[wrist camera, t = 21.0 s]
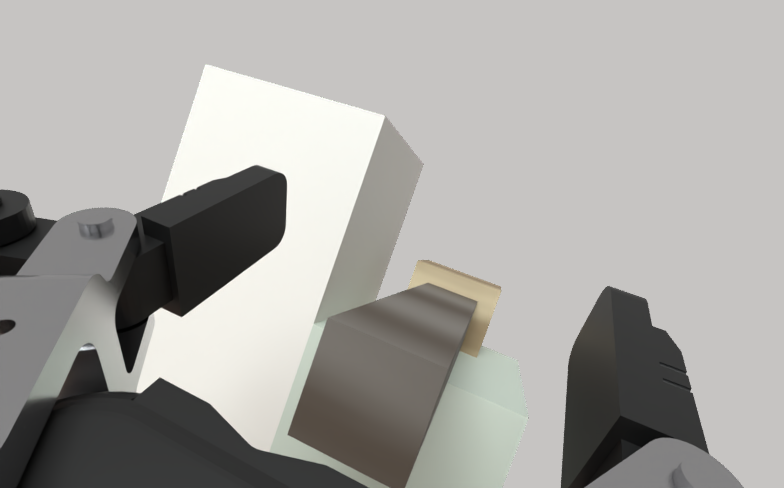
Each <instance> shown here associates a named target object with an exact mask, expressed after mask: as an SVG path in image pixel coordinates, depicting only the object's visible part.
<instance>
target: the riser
mask: <svg viewBox="0 0 784 488" xmlns="http://www.w3.org/2000/svg"><path fill="white" fill-rule="evenodd" d="M254 165H259V166H262V167H265V168H268V169H271V170H274V171H277V172H280V173H282V174H284V175H285V177H286V180H287V205H286V229H285V233H284V236H283V238H282V240H281V242H280V243H279V245H278V246H277V247H276V248H275V249H273V250H272V251H271V252H269V253H268V254H267V255H265V256H264V257H263V258H261V259H260V260H259V261H257V262H256V263H255V264H253V265H252V266H251V267H249V268H248V269H246V270H245V271H244V272H242V273H241V274H240V275H238V276H237V277H236V278H234V279H233V280H232V281H230V282H229V283H228V284H226V285H225V286H224V287H222V288H221V289H219V290H218V291H217V292H215V293H214V294H213V295H211V296H210V297H209V298H207V299H206V300H205V301H203V302H202V303H201V304H199V305H198V306H197V307H195V308H194V309H192V310H191V311H190V312H188V313H187V314H186V315H184V316H183V317H180V316H178V315H175V314H173V313H171V312H169V311H167V310H165V309H163V308H160V309H159V310H157V311H156V312H154V318H155V325H154V329H153V332H152V336H151V339H150V343H149V346H148V350H147V354H146V357H145V361H144V364H143V368H142V371H141V375H140V378H139V382H138V385H137V390H136V393H142V392H143V391H144V390H145V389H146V388H148V387H149V386H150V385H151V384H152V383H154V382H155V381H156V380H157V379H158V378H159V377H160V378H162V379H164V380H166V381H168V382H170V383H172V384H174V385H175V386H177V387H179V388H181V389H183V390H185V391H187V392H189V393H191V394H193V395H194V396H196V397H198V398H200V399H202V400H204V401H206V402H208V403H210V404H211V405H212V406H213V407H214V408H215V409H216V411H217V412H218V413H219V414H220V415H221V416H222V417H223V418H224V419H225V420H226V421H227V422H228V423H229V424H230V425H231V426H232V427H233V428H234V429H235V430H236V431H237V432H238V433H239V434H240V435H241V436H242V437H243V438H244V439H245V440H246V441H247V442H248V443H249V444H250V445H251V446H252V447H254V448H256V449H259V450H262V451H266V452H271V453H275V454H280V455H284V456H288V457H293V458H297V459H302V460H306V461H310V462H315V463H319V464H324V465H327V466H329V467H331V468H333V469H335V470H337V471H338V472H340V473H342V474H344V475H346V476H348V477H350V478H352V479H354V480H355V481H357V482H359V483H361V484H363V485H365V486H367V487H369V488H389V487H387V486H386V485H384V484H382V483H380V482H378V481H376V480H374V479H372V478H370V477H368V476H366V475H364V474H362V473H360V472H358V471H356V470H355V469H353V468H351V467H349V466H347V465H345V464H343V463H341V462H339V461H337V460H335V459H333V458H331V457H329V456H327V455H326V454H324V453H322V452H320V451H318V450H316V449H314V448H312V447H310V446H308V445H306V444H304V443H302V442H300V441H298V440H296V439H295V438H293V437H291V436H289V435H287V434H288V431H289V428H290V425H291V422H292V419H293V416H294V414H295V411H296V408H297V405H298V402H299V399H300V396H301V393H302V390H303V388H304V385H305V382H306V379H307V376H308V373H309V370H310V367H311V365H312V362H313V359H314V356H315V353H316V350H317V347H318V344H319V341H320V339H321V336H322V333H323V330H324V327H325V324H326V321H327V318H328V317H331V316H333V315H336V314H339V313H342V312H345V311H348V310H351V309H354V308H356V307H359V306H362V305H365V304H368V303H371V302H374V301H376V298H377V295H378V292H379V290H380V287H381V284H382V281H383V278H384V275H385V272H386V269H387V266H388V264H389V261H390V258H391V255H392V252H393V250H394V247H395V244H396V241H397V238H398V236H399V233H400V230H401V227H402V224H403V221H404V219H405V216H406V213H407V210H408V207H409V204H410V202H411V199H412V196H413V193H414V190H415V187H416V184H417V182H418V178H419V176H420V173H421V170H422V167H423V163H422V162H421V160H420V159H419V158H418V157H417V155H416V154H415V153H414V152H413V150H412V149H411V148H410V146H409V145H408V144H407V143H406V141H405V140H404V139H403V137H402V136H401V135H400V134H399V132H398V131H397V130H396V129H395V127H393V125H392V123H391V122H390V121H389V120H388V119H387V117H386V116H385V115H381V114H378V113H374V112H370V111H367V110H364V109H360V108H357V107H353V106H350V105H346V104H343V103H339V102H336V101H332V100H329V99H325V98H322V97H318V96H315V95H311V94H308V93H304V92H301V91H297V90H294V89H290V88H287V87H283V86H280V85H276V84H273V83H269V82H266V81H262V80H259V79H255V78H252V77H249V76H245V75H242V74H238V73H235V72H231V71H228V70H224V69H221V68H217V67H213V66H210V65H207V64H206V65H205V68H204V71H203V74H202V77H201V81H200V83H199V86H198V90H197V93H196V97H195V99H194V102H193V105H192V108H191V111H190V115H189V118H188V121H187V124H186V127H185V130H184V134H183V136H182V140H181V142H180V146H179V149H178V152H177V155H176V158H175V161H174V164H173V167H172V170H171V174H170V177H169V180H168V183H167V186H166V189H165V192H164V195H163V199H162V202H164V201H166V200H169V199H171V198H173V197H176V196H178V195H183V193H185V192H187V191H189V190H192V189H197V187H198V186H201V185H203V184H205V183H208V182H210V181H212V180H216V179H221V178H226V177H229V176H231V175H233V174H235V173H238V172H240V171H242V170H244V169H247V168H249V167H251V166H254ZM162 202H161V203H162ZM528 418H529V417H528V412H527V407H526V402H525V396H524V391H523V386H522V381H521V375H520V370H519V365H518V361H517V360H515V359H513V358H510V357H508V356H506V355H503V354H500V353H498V352H496V351H493V350H491V349H488V348H486V347H483V346H481V348H480V350H479V353H478V356H477V358H476V357H473V356H471V355H468V354H466V353H463V352H461V351H460V352H459V354H458V357H457V359H456V362H455V364H454V367H453V369H452V372H451V374H450V377H449V379H448V382H447V384H446V387H445V389H444V392H443V394H442V397H441V399H440V402H439V404H438V407H437V409H436V412H435V414H434V417H433V419H432V422H431V424H430V427H429V429H428V432H427V434H426V437H425V439H424V442H423V444H422V447H421V449H420V452H419V454H418V457H417V459H416V462H415V464H414V467H413V469H412V472H411V474H410V477H409V479H408V482H407V484H406V487H405V488H502V487H503V485H504V482H505V479H506V477H507V474H508V472H509V469H510V466H511V464H512V461H513V458H514V455H515V453H516V450H517V448H518V445H519V442H520V440H521V437H522V434H523V432H524V429H525V426H526V424H527V421H528Z"/></svg>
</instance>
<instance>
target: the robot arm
mask: <svg viewBox="0 0 784 488" xmlns="http://www.w3.org/2000/svg"><path fill="white" fill-rule="evenodd" d="M286 205H287V180H286V177H285V175H284V174H282V173H280V172H277V171H274V170H271V169H268V168H265V167H262V166H259V165H254V166H251V167H249V168H247V169H244V170H242V171H240V172H238V173H235V174H233V175H231V176H229V177H226V178H221V179H216V180H212V181H210V182H208V183H205V184H203V185H201V186H198V187H197V189H192V190H189V191H187V192H185V193H183V195H178V196H176V197H173V198H171V199H169V200H166V201H164V202H162V203H160V204H157V205H155V206H153V207H151V208H148V209H146V210H144V211H141V212H139V213H137V214H135V215H133V214H131V213H130V212H127V211H125V210H121V209H116V208H92V209H86V210H81V211H77V212H74V213H71V214H69V215H67V216H65V217H63V218H61V219H60V220H58V221H54V220H48V219H42V218H35V217H34V213H33V210H32V207H31V205H30V201H29V199H28V197H27V196H26V195H24V194H22V193H20V192H16V191H10V190H0V488H369V487H367V486H365V485H363V484H361V483H359V482H357V481H355V480H354V479H352V478H350V477H348V476H346V475H344V474H342V473H340V472H338V471H337V470H335V469H333V468H331V467H329V466H327V465H324V464H319V463H315V462H310V461H306V460H302V459H297V458H293V457H288V456H284V455H280V454H275V453H271V452H266V451H262V450H259V449H256V448H254V447H252V446H251V445H250V444H249V443H248V442H247V441H246V440H245V439H244V438H243V437H242V436H241V435H240V434H239V433H238V432H237V431H236V430H235V429H234V428H233V427H232V426H231V425H230V424H229V423H228V422H227V421H226V420H225V419H224V418H223V417H222V416H221V415H220V414H219V413H218V412H217V411H216V409H215V408H214V407H213V406H212V405H211V404H210V403H208V402H206V401H204V400H202V399H200V398H198V397H196V396H194V395H193V394H191V393H189V392H187V391H185V390H183V389H181V388H179V387H177V386H175V385H174V384H172V383H170V382H168V381H166V380H164V379H162V378H160V377H159V378H158V379H157V380H156V381H155V382H154V383H152V384H151V385H150V386H149V387H148V388H146V389H145V390H144V391H143V392H142V393H136V390H137V385H138V382H139V378H140V375H141V371H142V368H143V364H144V361H145V357H146V354H147V350H148V346H149V343H150V339H151V336H152V332H153V329H154V325H155V318H154V312H156V311H157V310H159V309H160V308H163V309H165V310H167V311H169V312H171V313H173V314H175V315H178V316H180V317H183V316H184V315H186V314H187V313H188V312H190V311H191V310H192V309H194V308H195V307H197V306H198V305H199V304H201V303H202V302H203V301H205V300H206V299H207V298H209V297H210V296H211V295H213V294H214V293H215V292H217V291H218V290H219V289H221V288H222V287H224V286H225V285H226V284H228V283H229V282H230V281H232V280H233V279H234V278H236V277H237V276H238V275H240V274H241V273H242V272H244V271H245V270H246V269H248V268H249V267H251V266H252V265H253V264H255V263H256V262H257V261H259V260H260V259H261V258H263V257H264V256H265V255H267V254H268V253H269V252H271V251H272V250H273V249H275V248H276V247H277V246H278V245H279V243H280V242H281V240H282V238H283V236H284V233H285V229H286ZM686 372H687V371H686V367H685V364H684V360H683V356H682V353H681V351H680V349H679V348H678V347H677V345H676V344H675V343H674V341H673V340H672V339H671V338H670V336H669V335H668V333H667V332H666V331H664V330H662V329H659V328H656V327H653V326H652V323H651V318H650V313H649V308H648V303H647V300H646V299H645V298H642V297H639V296H636V295H633V294H630V293H627V292H624V291H621V290H619V289H616V288H613V287H610V286H607V287H606V288H605V289H604V290H603V291H602V293H601V295H600V296H599V298H598V300H597V302H596V304H595V306H594V307H593V309H592V311H591V313H590V315H589V316H588V318H587V320H586V322H585V324H584V326H583V327H582V329H581V331H580V333H579V335H578V337H577V339H576V341H575V343H574V345H573V348H572V351H571V355H570V359H569V365H568V379H567V395H566V412H565V428H564V429H565V430H564V444H563V461H562V477H561V488H743V487H742V485H741V484H740V482H739V481H738V480H737V479H736V478H735V477H734V476H733V474H732V473H731V472H730V471H729V470H727V469H726V468H725V467H724V466H723V465H722V464H721V463H720V462H718V461H717V460H716V459H715V458H713V457H712V456H710V455H709V452H708V448H707V445H706V441H705V437H704V434H703V430H702V426H701V423H700V419H699V415H698V411H697V408H696V404H695V400H694V397H693V393H690V390H691V386H690V382H689V378H688V376H687V375H686Z"/></svg>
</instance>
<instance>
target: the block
mask: <svg viewBox="0 0 784 488" xmlns="http://www.w3.org/2000/svg"><path fill="white" fill-rule="evenodd" d="M500 293H501V287H500V286H498V285H495V284H492V283H490V282H487V281H484V280H481V279H479V278H476V277H473V276H470V275H468V274H465V273H462V272H460V271H457V270H454V269H451V268H449V267H446V266H443V265H441V264H438V263H435V262H432V261H429V260H418V262H417V264H416V267H415V270H414V273H413V276H412V278H411V281H410V284H409V287H408V290H405V291H402V292H400V293H397V294H394V295H391V296H388V297H385V298H382V299H379V300H377V301H374V302H371V303H368V304H365V305H362V306H359V307H356V308H354V309H351V310H348V311H345V312H342V313H339V314H336V315H333V316H331V317H328V318H327V321H326V324H325V327H324V330H323V333H322V336H321V339H320V341H319V344H318V347H317V350H316V353H315V356H314V359H313V362H312V365H311V367H310V370H309V373H308V376H307V379H306V382H305V385H304V388H303V390H302V393H301V396H300V399H299V402H298V405H297V408H296V411H295V414H294V416H293V419H292V422H291V425H290V428H289V431H288V434H287V435H289V436H291V437H293V438H295V439H296V440H298V441H300V442H302V443H304V444H306V445H308V446H310V447H312V448H314V449H316V450H318V451H320V452H322V453H324V454H326V455H327V456H329V457H331V458H333V459H335V460H337V461H339V462H341V463H343V464H345V465H347V466H349V467H351V468H353V469H355V470H356V471H358V472H360V473H362V474H364V475H366V476H368V477H370V478H372V479H374V480H376V481H378V482H380V483H382V484H384V485H386V486H387V487H389V488H405V487H406V484H407V482H408V479H409V477H410V474H411V472H412V469H413V467H414V464H415V462H416V459H417V457H418V454H419V452H420V449H421V447H422V444H423V442H424V439H425V437H426V434H427V432H428V429H429V427H430V424H431V422H432V419H433V417H434V414H435V412H436V409H437V407H438V404H439V402H440V399H441V397H442V394H443V392H444V389H445V387H446V384H447V382H448V379H449V377H450V374H451V372H452V369H453V367H454V364H455V362H456V359H457V357H458V354H459V352H460V351H461V352H463V353H466V354H468V355H471V356H473V357H476V358H477V356H478V353H479V350H480V348H481V345H482V342H483V339H484V337H485V334H486V331H487V328H488V326H489V323H490V320H491V318H492V314H493V312H494V309H495V307H496V304H497V301H498V299H499V296H500Z"/></svg>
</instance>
